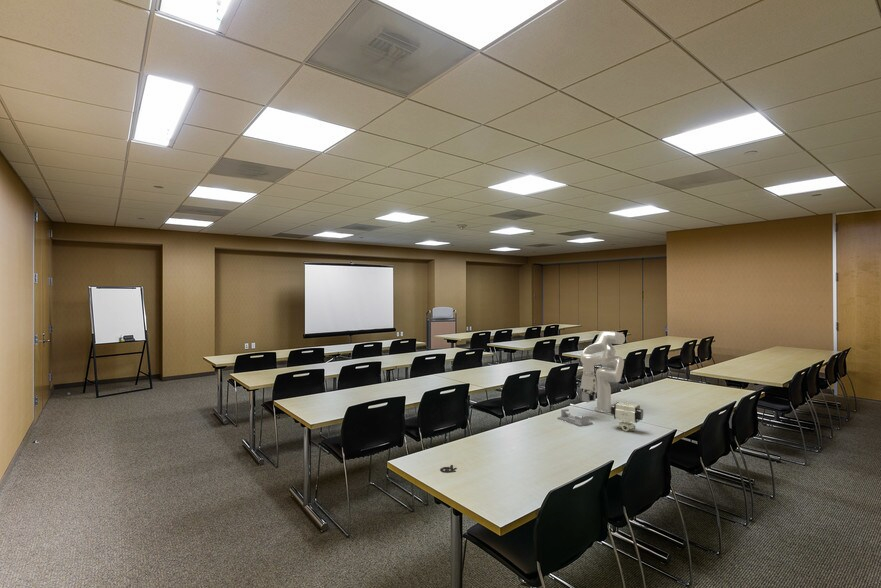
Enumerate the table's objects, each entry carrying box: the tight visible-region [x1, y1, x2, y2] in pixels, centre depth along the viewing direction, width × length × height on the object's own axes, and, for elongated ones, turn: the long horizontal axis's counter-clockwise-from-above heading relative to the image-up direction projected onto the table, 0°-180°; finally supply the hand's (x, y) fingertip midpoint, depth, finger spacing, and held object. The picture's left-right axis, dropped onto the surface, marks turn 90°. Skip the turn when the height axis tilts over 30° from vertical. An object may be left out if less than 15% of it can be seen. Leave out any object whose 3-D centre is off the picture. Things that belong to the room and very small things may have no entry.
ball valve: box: [610, 401, 644, 432], centre depth 269 cm, size 18×8×18 cm, turn 50°
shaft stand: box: [557, 408, 594, 428], centre depth 287 cm, size 20×12×6 cm, turn 29°
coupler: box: [581, 390, 597, 403], centre depth 293 cm, size 8×5×6 cm, turn 119°
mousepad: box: [439, 464, 457, 474], centre depth 206 cm, size 9×8×1 cm
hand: (588, 399), depth 293 cm, fingers closed on coupler, 5 cm apart
